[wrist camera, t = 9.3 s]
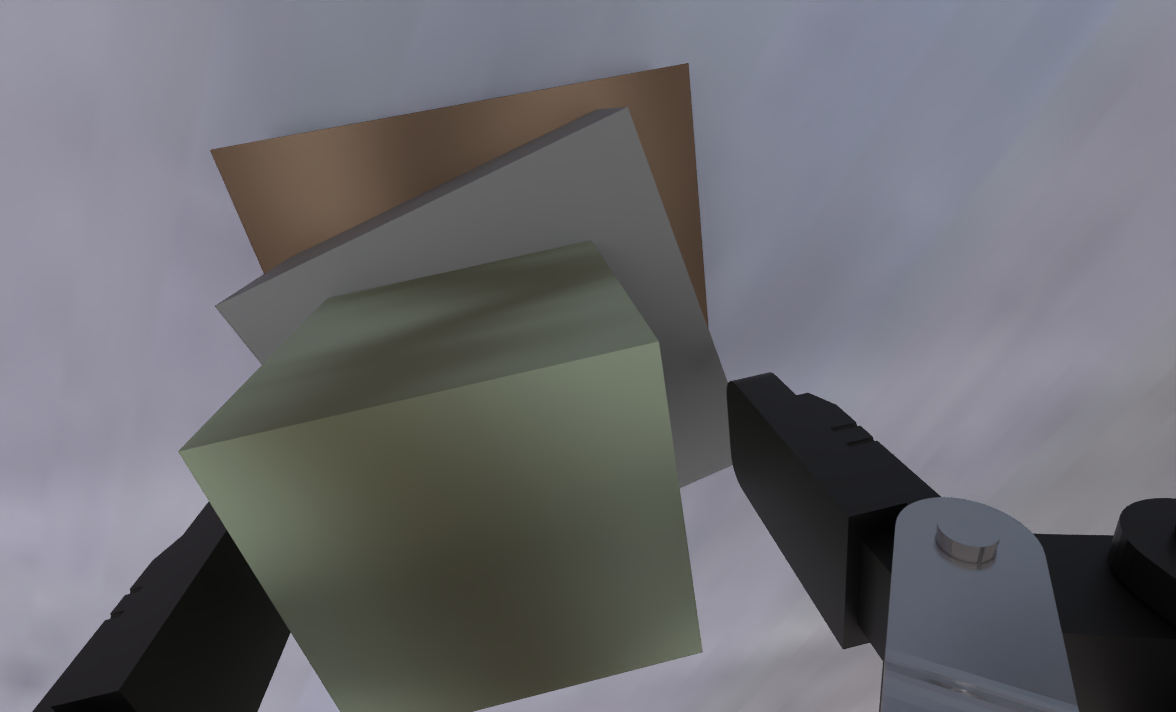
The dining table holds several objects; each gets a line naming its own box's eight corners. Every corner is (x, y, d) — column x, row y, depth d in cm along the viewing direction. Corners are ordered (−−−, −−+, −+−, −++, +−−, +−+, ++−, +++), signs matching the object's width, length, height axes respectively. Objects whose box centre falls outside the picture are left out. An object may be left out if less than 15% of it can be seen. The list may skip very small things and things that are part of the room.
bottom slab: (650, 73, 17) (688, 63, 14) (683, 394, 22) (717, 448, 19) (274, 142, 17) (210, 149, 13) (396, 457, 22) (373, 525, 18)
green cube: (591, 240, 11) (658, 341, 6) (630, 454, 14) (702, 652, 9) (327, 298, 11) (178, 451, 6) (414, 506, 13) (359, 740, 8)
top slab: (596, 109, 14) (627, 106, 10) (703, 385, 18) (753, 454, 14) (288, 258, 14) (215, 306, 11) (457, 497, 18) (445, 592, 14)
